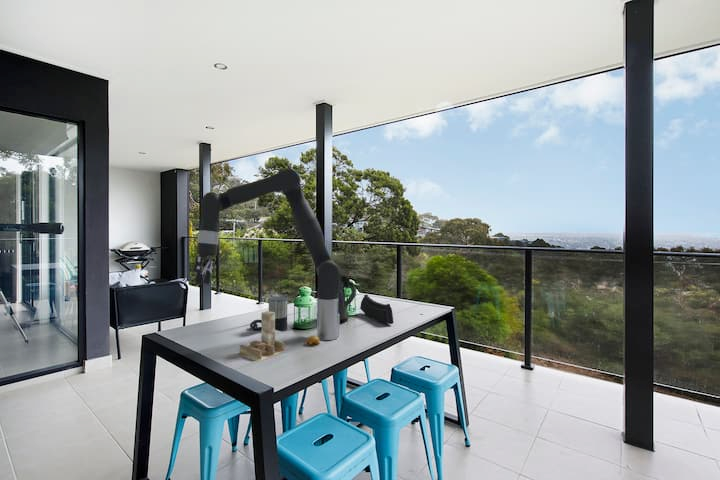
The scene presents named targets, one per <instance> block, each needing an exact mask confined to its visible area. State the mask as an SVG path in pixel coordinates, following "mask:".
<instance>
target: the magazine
mask: <svg viewBox="0 0 720 480" xmlns="http://www.w3.org/2000/svg"><path fill="white" fill-rule="evenodd" d="M359 309H360V310H361V311H362V313H364V315H366V316H367V317H368V316H369V317H368V318H370V317H371V318H373V319H374V320H373V319H372V320H373V321H375V320H376V322H378V321H379V322H378V323H383V324H387V325H392V324H395V323H394V316H393V308H392V307H391V304H390V303H386V304H383V303H380V302H377V301H376V300H374V299H372V298H371V297H370V296H369V295H368V294H364V296H363V297H362V300H361V301H360V307H359ZM371 318H370V319H371Z"/></svg>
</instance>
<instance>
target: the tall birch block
mask: <svg viewBox="0 0 720 480" xmlns="http://www.w3.org/2000/svg"><path fill="white" fill-rule="evenodd" d="M260 320H261V324H260V325H261V326H260V327H261V330H260V332H261V334H260V335H261V339H260V340H261V341H260V342H263V343H266V344H269V345H273V346H274V350H275V341H276V330H275V312H270V311H269V310H267V311H261V319H260Z"/></svg>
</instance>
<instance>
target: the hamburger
mask: <svg viewBox="0 0 720 480" xmlns="http://www.w3.org/2000/svg"><path fill="white" fill-rule="evenodd" d="M320 344H321V341H320V339H319V337H318V336H317V335H314V334H313V335H309V336H308V337H307V338H306V346H308V347H309V346H310V347H317V346H319V345H320Z"/></svg>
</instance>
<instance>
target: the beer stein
mask: <svg viewBox="0 0 720 480" xmlns="http://www.w3.org/2000/svg"><path fill="white" fill-rule="evenodd" d="M345 288H350V291H351V293H350V296H349V297H348V298H347V299H346V292H345ZM356 295H357V286H356V284H355V283H354V282H353V281H350V277H349V276H347V275H343V274H341V272H340V290H339V299H338V314H339V315H340V319H339V325H343V323H344V324H346V323H347V322H348V321H349V311H348V308H347V307H348V306H349V305H350V304H351V303H352V302H353V300H354V299H355V297H356ZM345 322H346V323H345Z"/></svg>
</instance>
